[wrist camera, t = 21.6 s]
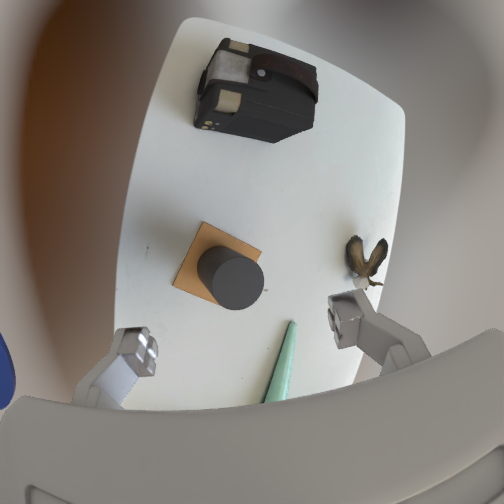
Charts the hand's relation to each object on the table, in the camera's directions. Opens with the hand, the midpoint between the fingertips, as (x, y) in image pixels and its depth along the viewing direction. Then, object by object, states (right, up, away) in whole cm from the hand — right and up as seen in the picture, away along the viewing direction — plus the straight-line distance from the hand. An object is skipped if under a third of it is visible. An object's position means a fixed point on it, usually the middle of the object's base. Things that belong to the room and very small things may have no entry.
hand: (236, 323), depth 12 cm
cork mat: (-4, +1, +29) cm, 29 cm away
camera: (-1, +25, +26) cm, 36 cm away
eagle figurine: (+21, +2, +39) cm, 44 cm away
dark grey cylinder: (-4, +1, +28) cm, 28 cm away
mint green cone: (+5, -22, +36) cm, 43 cm away
